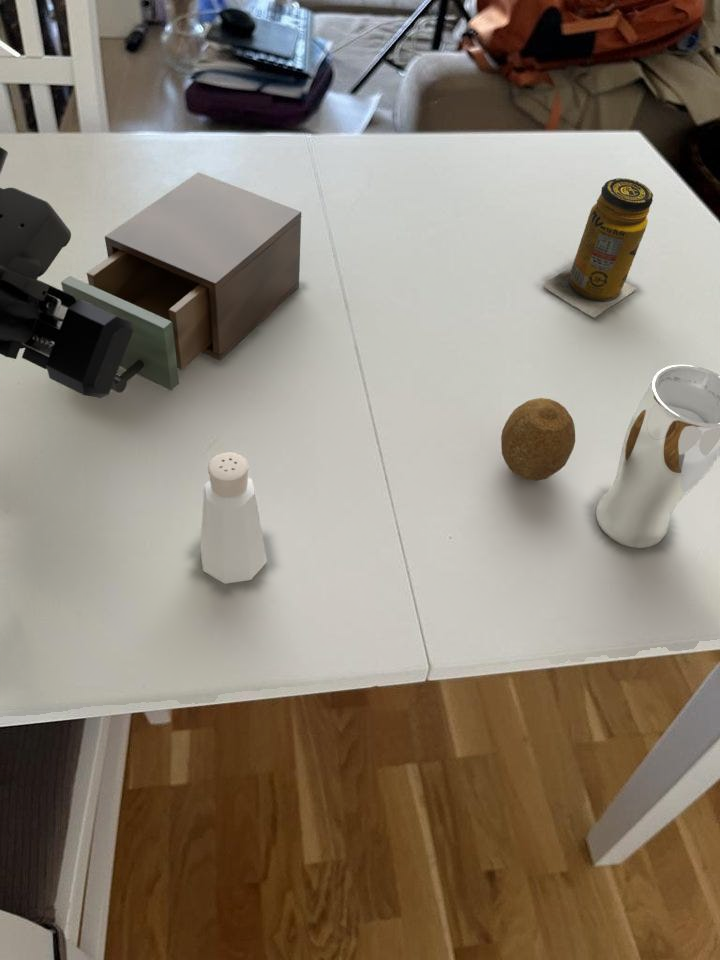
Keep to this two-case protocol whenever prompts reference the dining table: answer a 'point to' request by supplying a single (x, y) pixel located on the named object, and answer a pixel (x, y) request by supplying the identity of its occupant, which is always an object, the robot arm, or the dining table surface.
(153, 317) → the drawer
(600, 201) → the condiment
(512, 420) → the fruit
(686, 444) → the beer glass
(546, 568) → the dining table surface
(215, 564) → the salt shaker
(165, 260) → the cabinet
